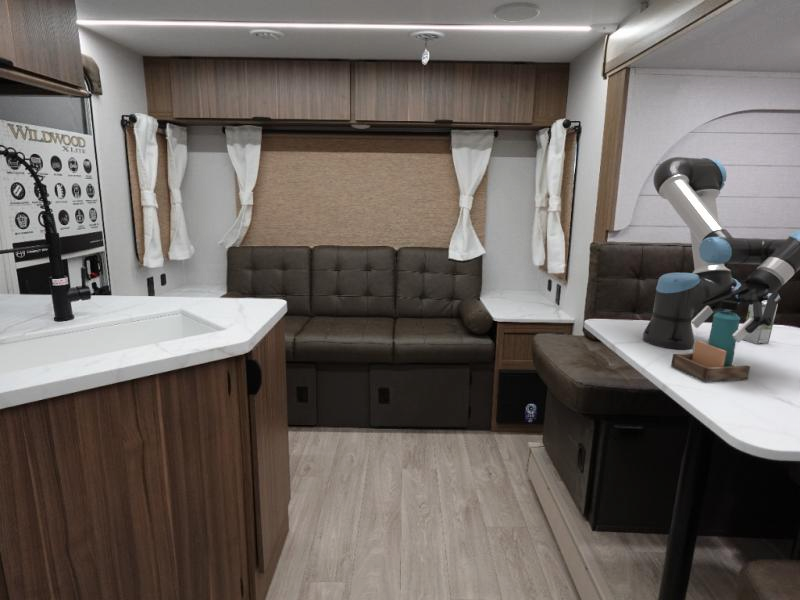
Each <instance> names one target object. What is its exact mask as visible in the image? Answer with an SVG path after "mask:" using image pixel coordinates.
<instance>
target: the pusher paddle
mask: <svg viewBox="0 0 800 600" xmlns="http://www.w3.org/2000/svg"><path fill="white" fill-rule="evenodd" d="M726 352H727V351H725V350H722V349H720V348H717V347H715V346H712V345H709V344H708V342H707V343H706V342H703V341H701V340H698V339H697V340H696V339H695V340H694V345H693V352H692V353H693V357H692V361H694V362H696V363H698V364H701V365H703V366H705V367H724V362H725V357H726Z"/></svg>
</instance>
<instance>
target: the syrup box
mask: <svg viewBox="0 0 800 600" xmlns="http://www.w3.org/2000/svg"><path fill="white" fill-rule="evenodd" d="M767 300H768V299H766V300H764V301H762V316H763V313H764V310H765V307H766V303H767ZM778 304H779V303H778ZM778 304H777V306H776V309H775V313H774V316H773V320H772V323H771V325H769V326H767V325H766V324H762V325H761V326H758V327H757V328H756V329H755V330H754V331H753V332H752V333H749V334H748V335H746V336H745V337H744V338H743V339H742V340H741V341H745V340H746V341H745V342H748V341H749V343H751V342H753V344H755V343H756V344H755V345H761V344H760V343H765V344H769V343H770V339H771V335H772V330H773V326H774V322H775V318H776V313H777V310H778ZM753 317H754V314H753V304H752V305H750V304H748V309H747V313H746V317H745V322H746V321H747V320H748V319H749V318H752V319H753V320H754V318H753Z"/></svg>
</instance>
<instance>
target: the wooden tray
mask: <svg viewBox="0 0 800 600" xmlns="http://www.w3.org/2000/svg"><path fill="white" fill-rule="evenodd" d="M692 357H693V352H689V353H673V354H672V359H671V364H670V367H671V368H674V369H676V370H678V371H679V372H682V373H684V374H686V375H689V376H690V377H692V376H693V378H694V377H695V378H694V379H697V380H699V381H701V382H704V383H716V382H717V383H719V382H720V381H721V382H736V381H748V380H749V379H748V378H749V375H750V370H751V366H749V365H733V364H731V365H732V366H727V367H705V366H703V365H701V364H698V363H696V362H694V361H692ZM721 382H720V383H721Z"/></svg>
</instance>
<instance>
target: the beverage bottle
mask: <svg viewBox="0 0 800 600" xmlns="http://www.w3.org/2000/svg"><path fill="white" fill-rule="evenodd" d="M738 306H739V304H738V303H737V302H735V301H730V300H722V301H721V303H720V306H719V307H720V308H723V309H727V310H732V311H737V310H738ZM740 321H741V317H740V316H739V315H738V314H737V313H735V312H731V311H729V312H725V311H719V312H717V313H713V317H712V322H711V328H710V331H709V339H708V340H707V344H709V345H712V346H715V347H717V348H720V349H722V350H725V351H727V352H726V357H725V362H724V367H727V366H732V365H733V361H734V355H735V350H736V344H737V342H736V340H735V339H734V337H733V336H732V335H733V334H734V333H735V332H736V331H737V330H738V329H739V328H740V327H739V326H740Z"/></svg>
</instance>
